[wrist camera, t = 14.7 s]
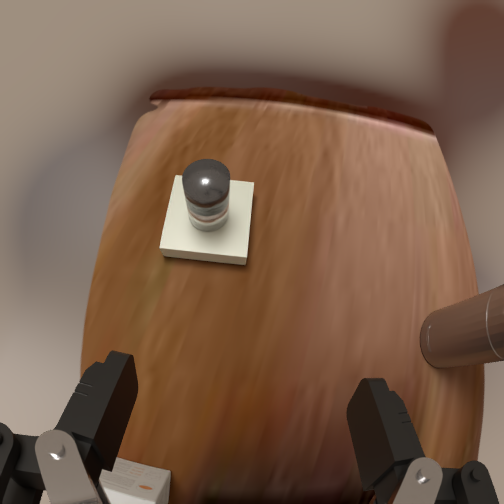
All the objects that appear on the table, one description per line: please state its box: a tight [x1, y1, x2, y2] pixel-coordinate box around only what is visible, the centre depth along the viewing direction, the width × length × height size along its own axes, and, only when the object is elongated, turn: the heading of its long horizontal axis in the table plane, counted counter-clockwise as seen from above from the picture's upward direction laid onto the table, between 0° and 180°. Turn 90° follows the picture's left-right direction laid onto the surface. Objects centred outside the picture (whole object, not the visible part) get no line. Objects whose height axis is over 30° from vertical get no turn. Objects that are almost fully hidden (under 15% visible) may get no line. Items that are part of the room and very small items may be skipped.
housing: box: [182, 159, 230, 232], centre depth 36 cm, size 5×5×8 cm
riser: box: [160, 175, 254, 265], centre depth 41 cm, size 11×11×3 cm
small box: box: [99, 457, 171, 504], centre depth 24 cm, size 8×6×10 cm
